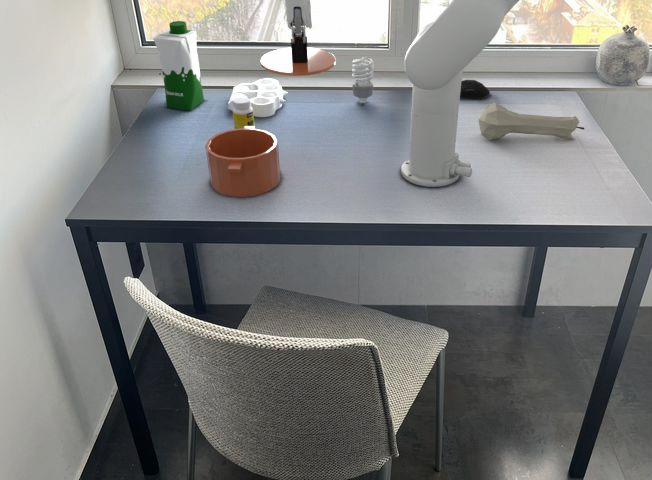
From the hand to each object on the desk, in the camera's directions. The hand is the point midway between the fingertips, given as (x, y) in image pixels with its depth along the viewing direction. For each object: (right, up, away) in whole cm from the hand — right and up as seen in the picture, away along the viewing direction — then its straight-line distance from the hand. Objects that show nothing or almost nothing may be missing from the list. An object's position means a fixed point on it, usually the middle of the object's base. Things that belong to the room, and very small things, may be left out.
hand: (299, 58), depth 140 cm
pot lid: (0, -1, 0) cm, 1 cm away
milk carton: (-33, 0, +38) cm, 50 cm away
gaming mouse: (+39, +3, +43) cm, 58 cm away
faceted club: (+52, -13, +21) cm, 57 cm away
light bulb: (+13, 0, +38) cm, 40 cm away
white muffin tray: (-14, 0, +38) cm, 40 cm away
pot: (-12, -24, +5) cm, 27 cm away
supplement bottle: (-15, -11, +23) cm, 30 cm away
